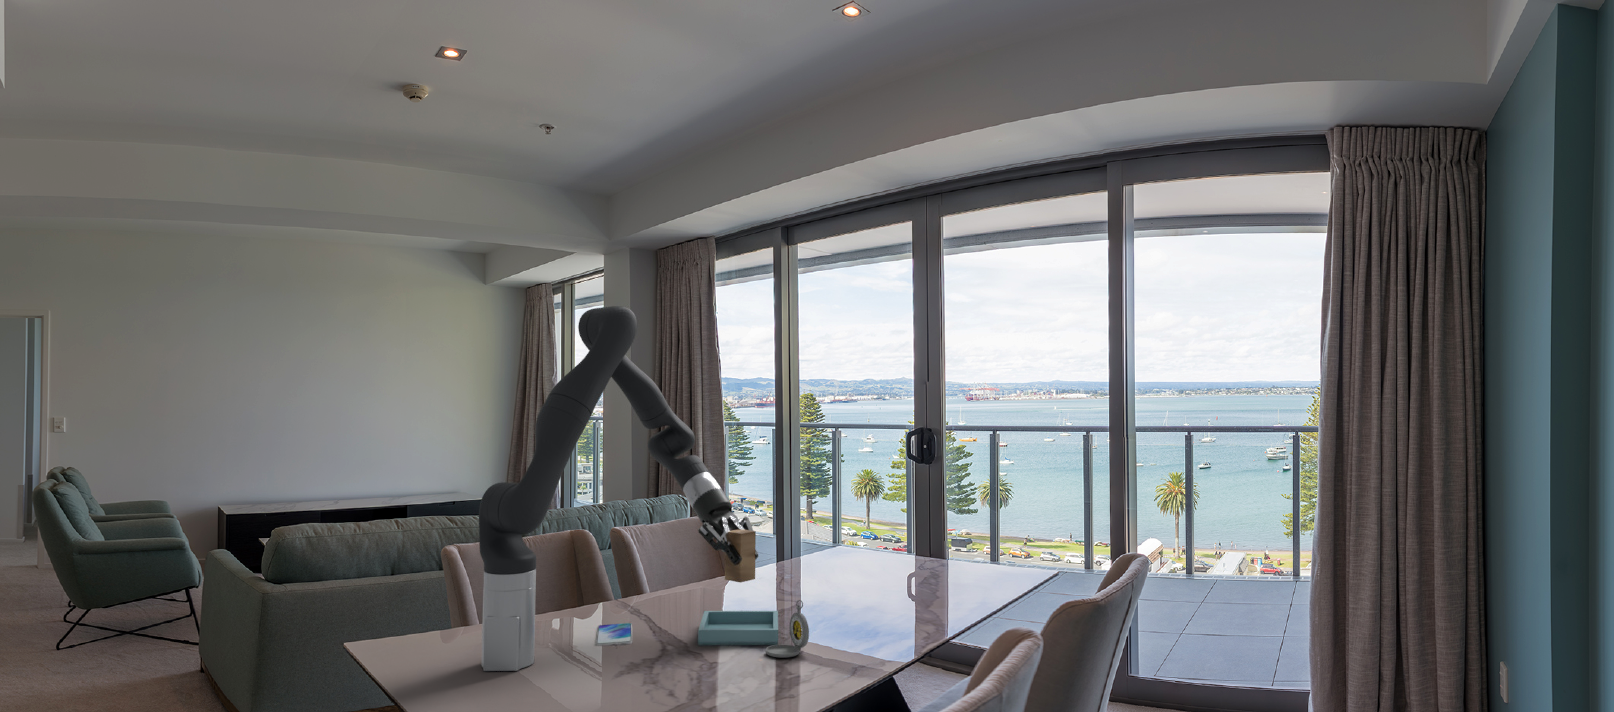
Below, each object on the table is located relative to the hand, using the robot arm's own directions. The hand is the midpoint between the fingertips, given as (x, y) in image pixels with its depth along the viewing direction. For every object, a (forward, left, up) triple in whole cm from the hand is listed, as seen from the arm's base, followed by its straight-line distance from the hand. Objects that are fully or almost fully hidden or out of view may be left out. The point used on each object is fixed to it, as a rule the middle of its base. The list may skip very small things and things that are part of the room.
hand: (747, 560), depth 183 cm
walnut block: (+1, +1, -4) cm, 5 cm away
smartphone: (+1, +27, -16) cm, 32 cm away
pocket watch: (-13, -9, -16) cm, 22 cm away
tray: (+1, +1, -16) cm, 16 cm away
